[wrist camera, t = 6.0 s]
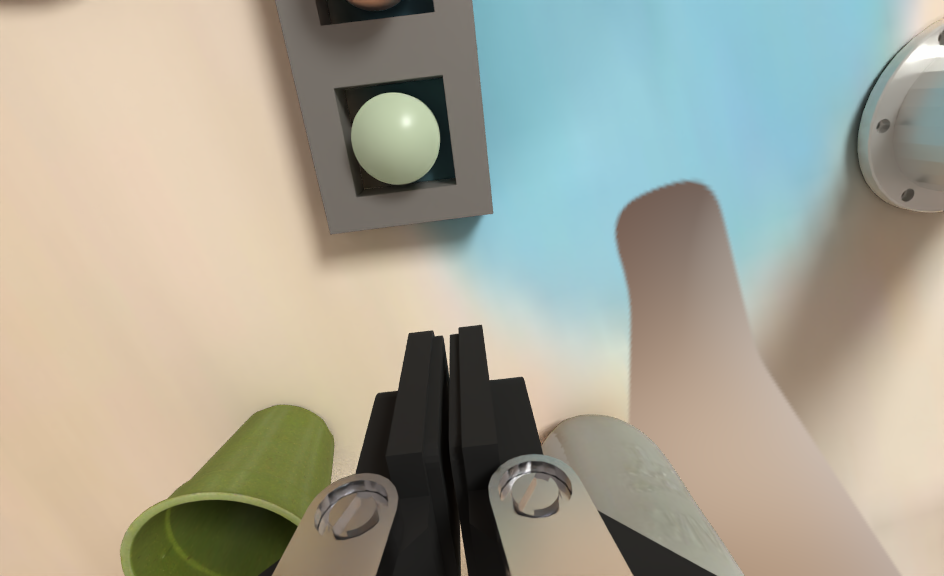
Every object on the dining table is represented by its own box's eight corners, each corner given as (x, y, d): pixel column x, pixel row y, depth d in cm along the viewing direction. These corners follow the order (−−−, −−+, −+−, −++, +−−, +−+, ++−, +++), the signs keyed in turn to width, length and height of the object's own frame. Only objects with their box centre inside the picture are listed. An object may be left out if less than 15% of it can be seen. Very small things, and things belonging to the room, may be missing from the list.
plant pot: (196, 379, 35) (91, 498, 24) (357, 375, 35) (321, 489, 25) (226, 499, 39) (147, 643, 29) (368, 494, 40) (341, 633, 29)
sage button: (434, 89, 28) (433, 87, 24) (445, 169, 30) (445, 178, 26) (355, 99, 28) (342, 98, 24) (371, 179, 30) (361, 189, 26)
